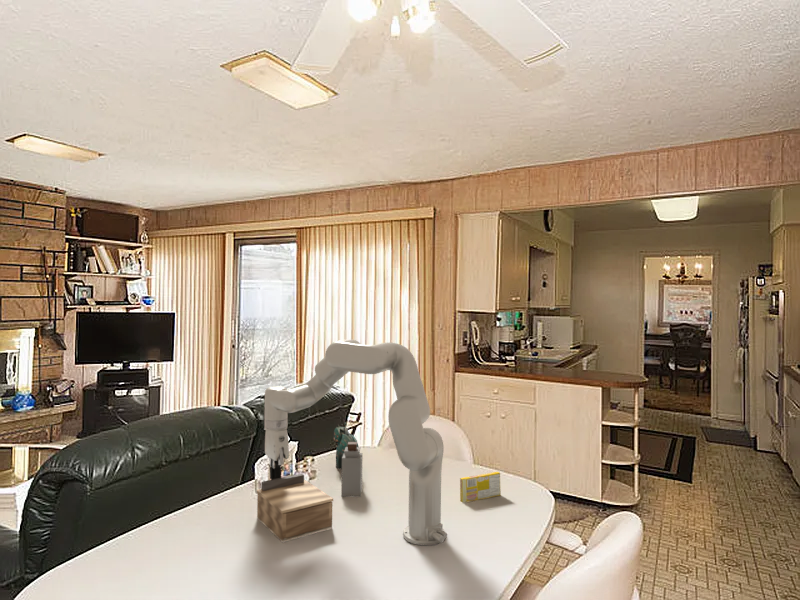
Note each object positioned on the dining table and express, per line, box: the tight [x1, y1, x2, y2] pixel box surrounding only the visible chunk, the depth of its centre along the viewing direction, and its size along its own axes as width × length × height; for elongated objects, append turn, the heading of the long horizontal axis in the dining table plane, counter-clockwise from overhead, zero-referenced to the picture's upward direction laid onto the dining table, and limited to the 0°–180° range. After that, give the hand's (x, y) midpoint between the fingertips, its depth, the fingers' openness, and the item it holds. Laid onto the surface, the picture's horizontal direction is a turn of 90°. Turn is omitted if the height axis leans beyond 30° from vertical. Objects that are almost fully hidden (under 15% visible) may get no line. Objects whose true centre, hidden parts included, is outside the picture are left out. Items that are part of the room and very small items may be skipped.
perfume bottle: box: [340, 441, 363, 497], centre depth 188 cm, size 7×7×18 cm
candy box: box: [459, 471, 502, 504], centre depth 184 cm, size 16×2×8 cm, turn 116°
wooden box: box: [256, 493, 333, 543], centre depth 162 cm, size 20×16×8 cm
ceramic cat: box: [333, 421, 361, 470], centre depth 210 cm, size 20×6×20 cm, turn 27°
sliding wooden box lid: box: [256, 473, 334, 514], centre depth 162 cm, size 20×17×3 cm
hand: (275, 478), depth 174 cm, fingers closed
